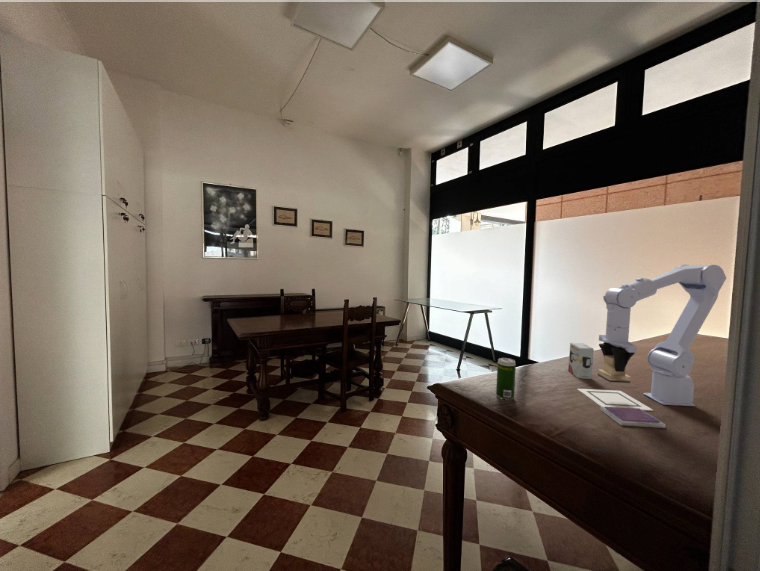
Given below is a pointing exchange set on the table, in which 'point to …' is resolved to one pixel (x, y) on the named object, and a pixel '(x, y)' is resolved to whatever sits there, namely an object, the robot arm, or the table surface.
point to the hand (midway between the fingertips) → (614, 368)
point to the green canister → (505, 378)
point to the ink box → (581, 360)
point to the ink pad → (632, 417)
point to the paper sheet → (613, 399)
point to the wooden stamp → (612, 371)
